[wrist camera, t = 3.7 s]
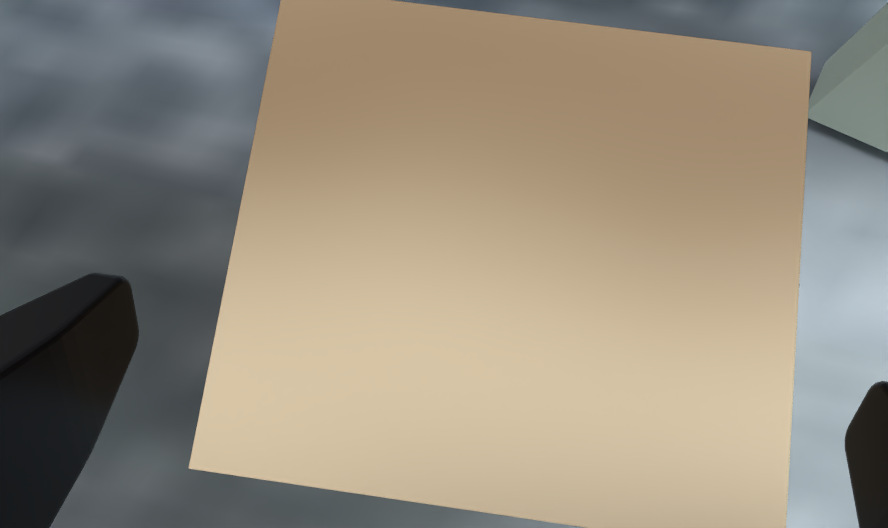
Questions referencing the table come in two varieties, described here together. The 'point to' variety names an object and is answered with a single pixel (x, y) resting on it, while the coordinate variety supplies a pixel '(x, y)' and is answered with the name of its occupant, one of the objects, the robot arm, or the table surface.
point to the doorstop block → (516, 269)
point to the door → (856, 86)
